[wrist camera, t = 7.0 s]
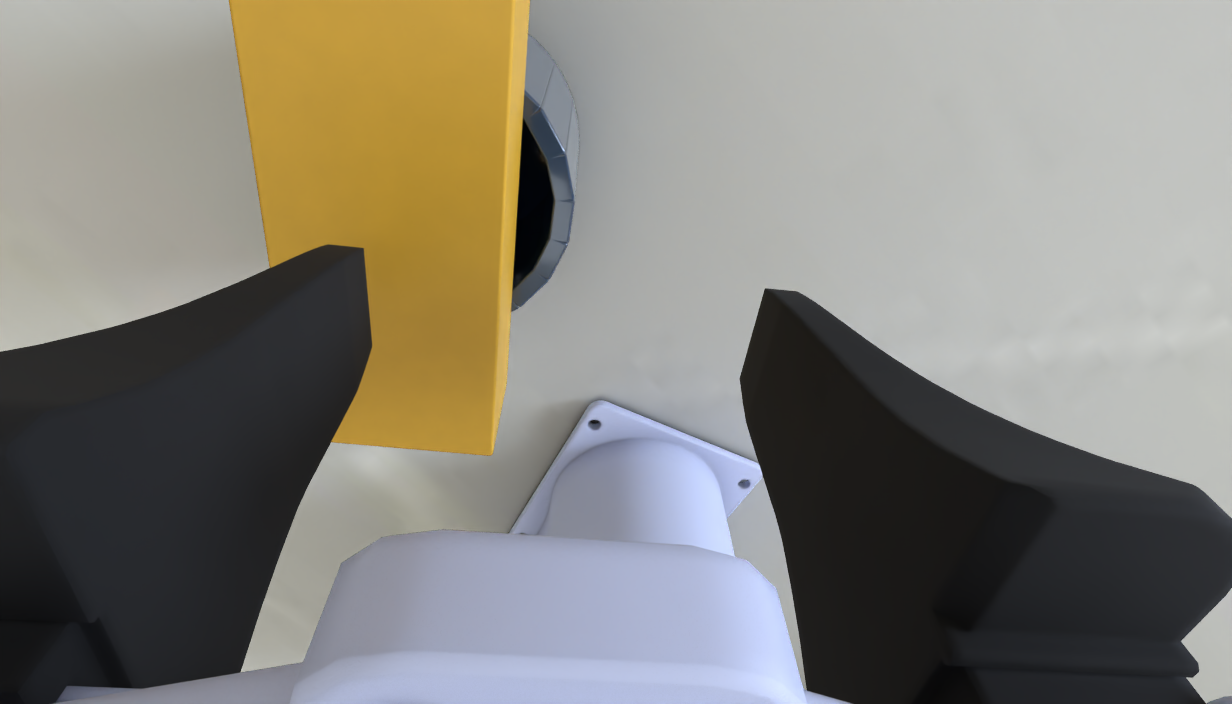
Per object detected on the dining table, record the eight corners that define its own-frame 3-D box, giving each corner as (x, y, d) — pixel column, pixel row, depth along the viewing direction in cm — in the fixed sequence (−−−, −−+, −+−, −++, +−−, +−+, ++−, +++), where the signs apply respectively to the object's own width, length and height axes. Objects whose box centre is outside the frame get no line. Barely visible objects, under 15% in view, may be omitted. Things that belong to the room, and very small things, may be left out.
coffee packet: (506, 383, 18) (492, 457, 16) (337, 367, 18) (294, 440, 15) (532, -35, 13) (516, -24, 10) (292, -72, 13) (216, -71, 10)
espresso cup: (523, 271, 23) (503, 369, 18) (320, 180, 21) (234, 260, 16) (618, 80, 20) (626, 134, 15) (388, -48, 18) (307, -37, 13)
